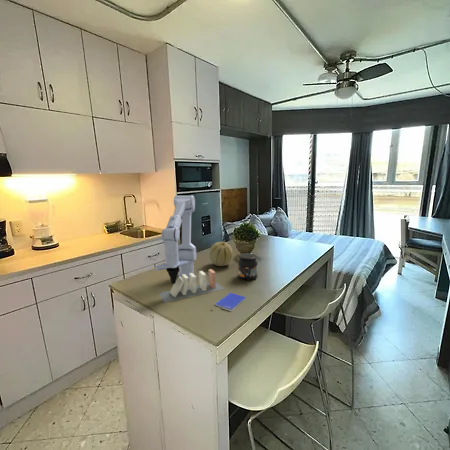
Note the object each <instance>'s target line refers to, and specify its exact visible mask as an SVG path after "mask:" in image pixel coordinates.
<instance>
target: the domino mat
mask: <svg viewBox="0 0 450 450" xmlns="http://www.w3.org/2000/svg"><path fill="white" fill-rule="evenodd" d="M220 290H225V288H224V287H223V286H222V285H221V284H220V283H218V282H217V281H216V288H212V287H211V286H210V285H209V282H206V291H203V290H202V289H201V288H200V284H196V292H197V293H193V292H192V291H191V290H190V286H187V293H186V295H183V294H182V293H181V292H180V290H179V292H178V294H177V296H176V297H174V296H172V294H171V293H170V290H169V291H168V290H167V291H162V292H159V293H158V295H159V296H160V298H161V301H162V302H163V303H168V302H172V301H177V300H182V299H186V298H191V297H193V296H194V297H195V296H199V295H203V294H208V293H211V292H218V291H220Z"/></svg>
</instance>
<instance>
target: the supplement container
mask: <svg viewBox="0 0 450 450" xmlns="http://www.w3.org/2000/svg"><path fill="white" fill-rule="evenodd" d="M237 268H238V269H237V276H238V278H239V279H241V280H243V281H253V280H255V279H257V278H258V255H256V254H255V253H250V252H246V253H245V252H244V253H240V254H239V255H238V261H237Z"/></svg>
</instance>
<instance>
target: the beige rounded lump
mask: <svg viewBox="0 0 450 450" xmlns="http://www.w3.org/2000/svg"><path fill="white" fill-rule="evenodd" d="M208 252H209V253H208V258H209V260H210V261H211V262H212V264H213V265H215V266H218V267H224V266H225V267H226V266H227V265H229V264H230V263H231V262H232V260H233V256H234V250H233V248H232V246H231V245H230V244H229V243H227V242H225V241H217V242H215V243H213V244H212V245H211V247H210V249H209V251H208Z"/></svg>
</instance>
